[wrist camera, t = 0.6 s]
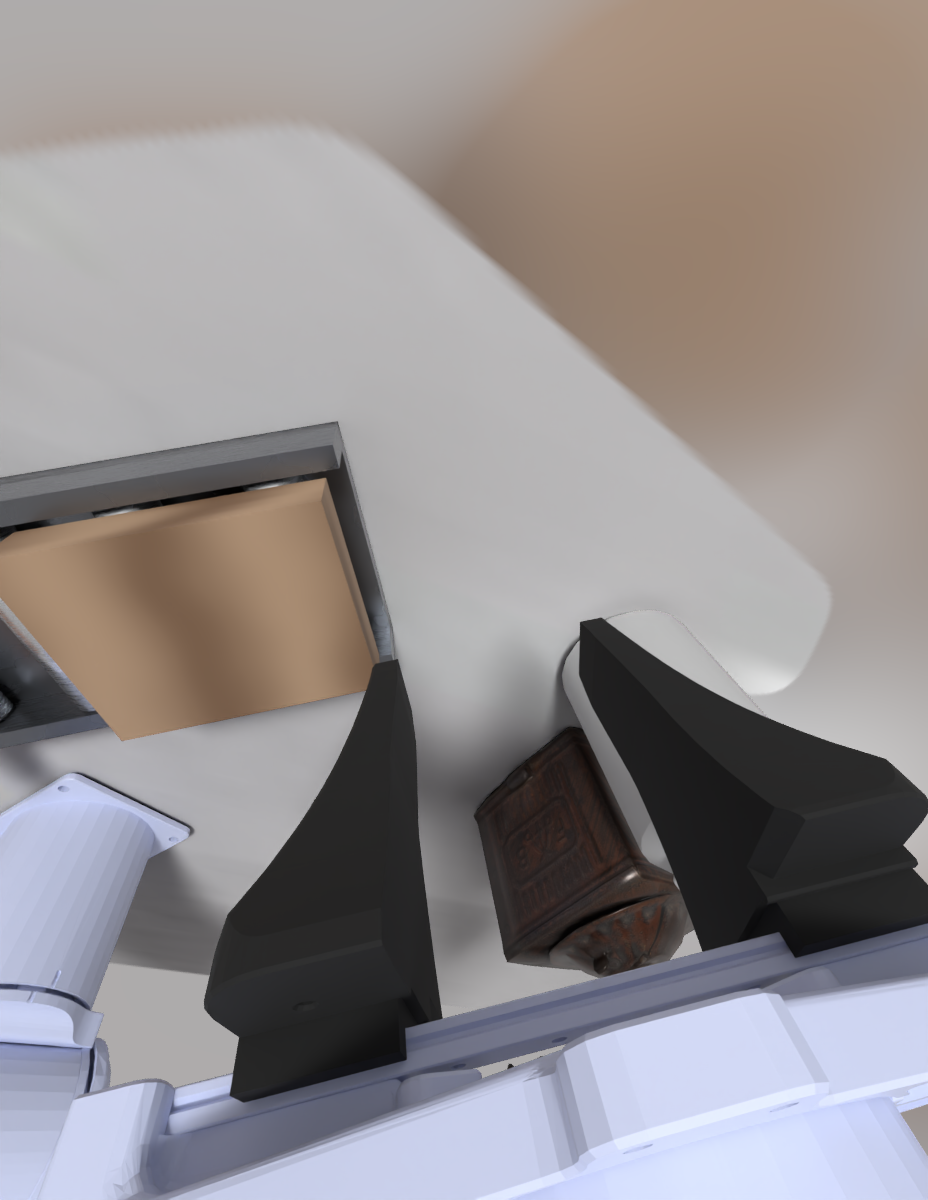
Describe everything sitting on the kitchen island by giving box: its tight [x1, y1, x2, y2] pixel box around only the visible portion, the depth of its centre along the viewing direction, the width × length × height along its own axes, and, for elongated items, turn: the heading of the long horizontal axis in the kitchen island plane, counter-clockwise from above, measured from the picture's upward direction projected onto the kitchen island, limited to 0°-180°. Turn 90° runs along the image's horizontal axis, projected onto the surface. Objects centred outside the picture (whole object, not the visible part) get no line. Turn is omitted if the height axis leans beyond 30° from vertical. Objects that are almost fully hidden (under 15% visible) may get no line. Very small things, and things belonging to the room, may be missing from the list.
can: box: [562, 610, 768, 890], centre depth 22 cm, size 8×8×12 cm
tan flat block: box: [0, 478, 379, 741], centre depth 17 cm, size 10×8×2 cm
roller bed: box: [0, 421, 395, 748], centre depth 18 cm, size 20×10×6 cm, turn 97°
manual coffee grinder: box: [474, 727, 695, 1069], centre depth 28 cm, size 16×11×18 cm
